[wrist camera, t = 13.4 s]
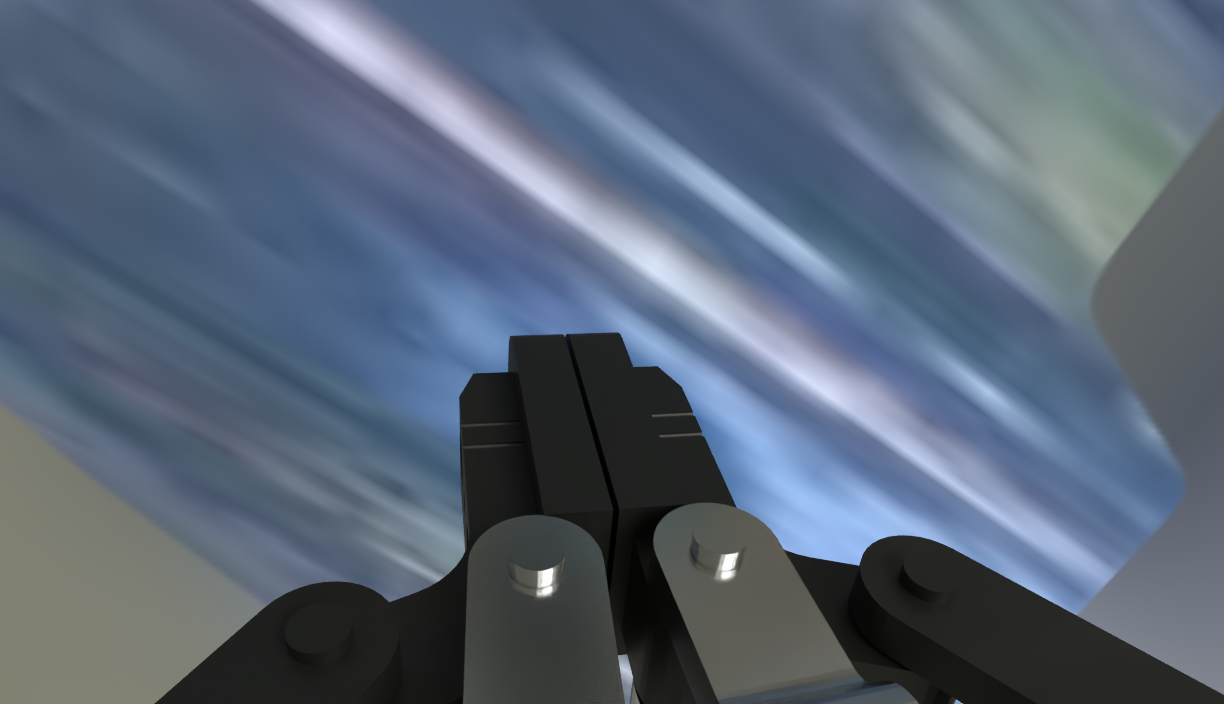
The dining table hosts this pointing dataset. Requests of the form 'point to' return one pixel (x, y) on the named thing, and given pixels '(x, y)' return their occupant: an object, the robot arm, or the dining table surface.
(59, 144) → the dining table surface
